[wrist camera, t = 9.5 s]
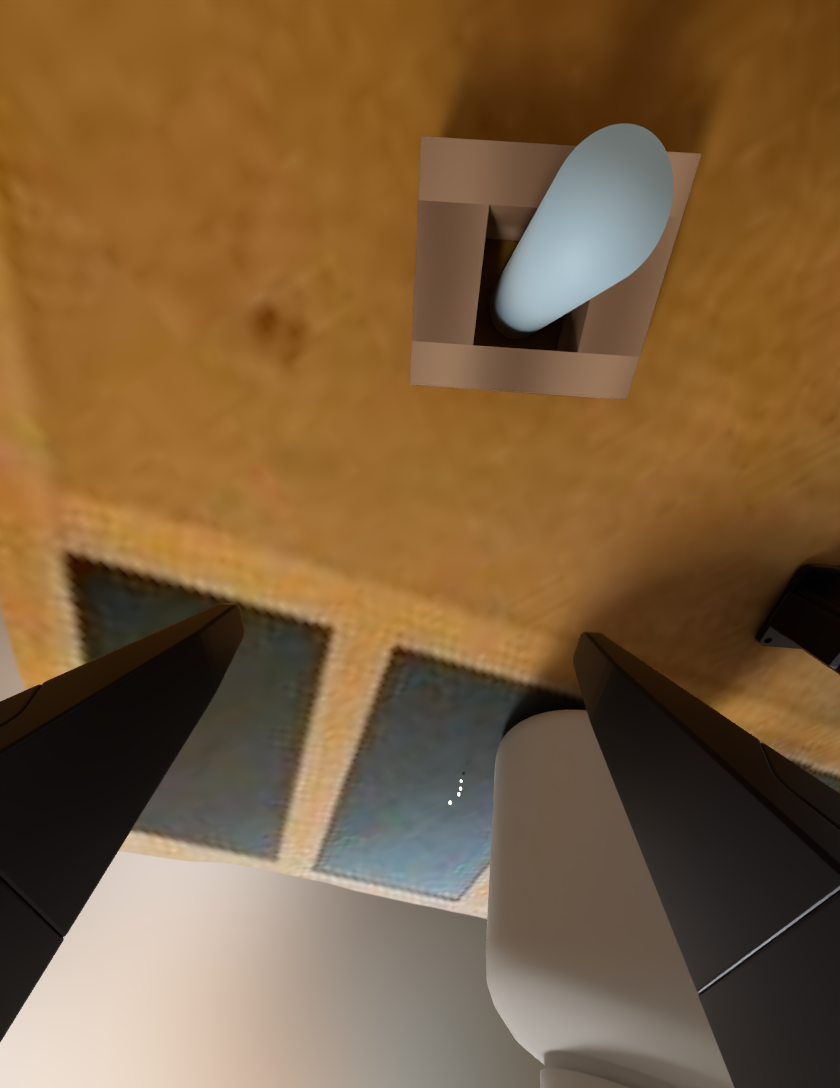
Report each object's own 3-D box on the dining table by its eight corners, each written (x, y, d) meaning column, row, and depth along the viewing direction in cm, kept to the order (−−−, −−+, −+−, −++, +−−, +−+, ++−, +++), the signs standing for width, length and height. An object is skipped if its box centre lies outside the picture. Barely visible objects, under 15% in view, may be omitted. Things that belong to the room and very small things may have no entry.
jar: (458, 798, 34) (503, 1591, 12) (431, 700, 28) (417, 1953, 6) (649, 784, 32) (1175, 1746, 9) (665, 674, 26) (2271, 2652, 3)
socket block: (651, 199, 14) (701, 153, 12) (597, 398, 18) (626, 399, 15) (424, 184, 14) (421, 136, 12) (413, 385, 18) (409, 383, 15)
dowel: (558, 267, 15) (695, 127, 7) (543, 341, 17) (646, 293, 9) (494, 262, 15) (560, 119, 7) (485, 337, 17) (532, 284, 9)
